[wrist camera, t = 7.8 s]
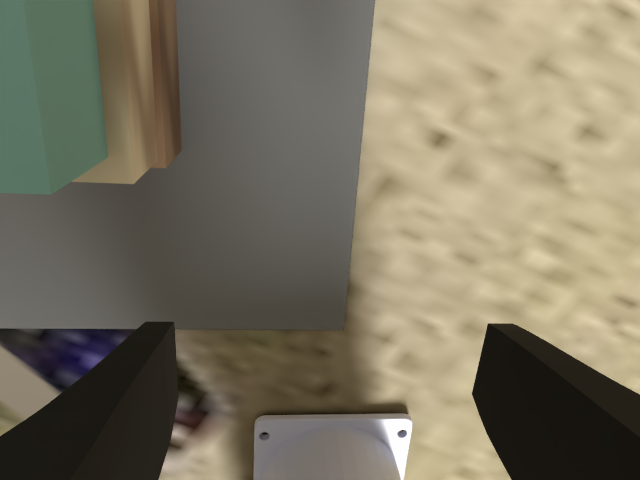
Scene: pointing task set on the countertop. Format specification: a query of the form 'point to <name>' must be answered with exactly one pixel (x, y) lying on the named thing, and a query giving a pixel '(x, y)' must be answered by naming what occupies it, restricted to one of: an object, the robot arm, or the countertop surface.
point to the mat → (215, 188)
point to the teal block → (48, 95)
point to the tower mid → (125, 91)
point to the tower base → (165, 80)
